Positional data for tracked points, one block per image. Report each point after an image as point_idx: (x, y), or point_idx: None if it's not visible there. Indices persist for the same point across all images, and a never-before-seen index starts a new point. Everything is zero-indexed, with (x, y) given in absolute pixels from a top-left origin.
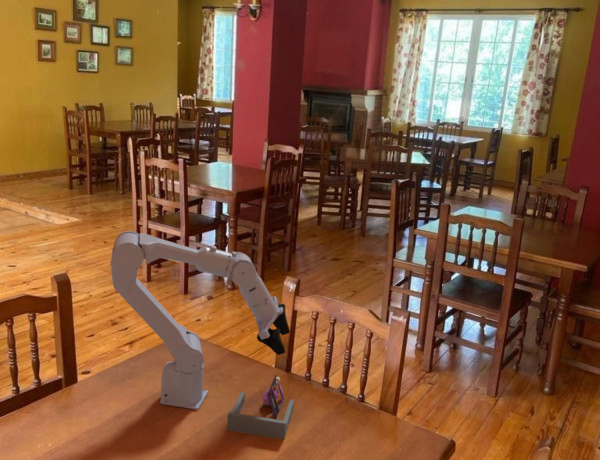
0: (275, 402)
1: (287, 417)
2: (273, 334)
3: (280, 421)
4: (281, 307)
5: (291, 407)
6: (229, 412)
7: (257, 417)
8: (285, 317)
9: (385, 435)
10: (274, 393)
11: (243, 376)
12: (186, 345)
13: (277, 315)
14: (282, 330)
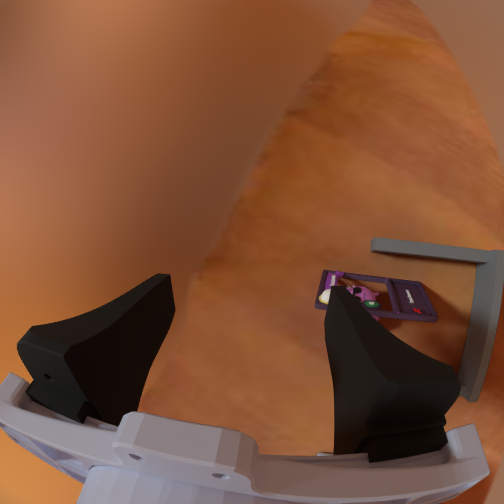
0: (392, 291)
1: (456, 250)
2: (449, 404)
3: (500, 265)
4: (123, 449)
5: (411, 242)
6: (470, 400)
7: (491, 328)
8: (106, 314)
9: (404, 51)
10: (372, 299)
11: (230, 382)
12: None
13: (275, 468)
14: (163, 315)
